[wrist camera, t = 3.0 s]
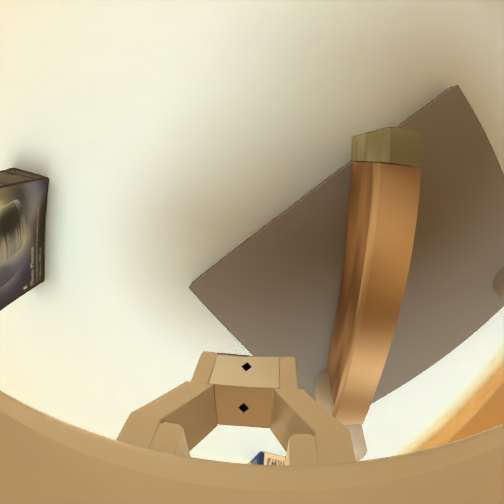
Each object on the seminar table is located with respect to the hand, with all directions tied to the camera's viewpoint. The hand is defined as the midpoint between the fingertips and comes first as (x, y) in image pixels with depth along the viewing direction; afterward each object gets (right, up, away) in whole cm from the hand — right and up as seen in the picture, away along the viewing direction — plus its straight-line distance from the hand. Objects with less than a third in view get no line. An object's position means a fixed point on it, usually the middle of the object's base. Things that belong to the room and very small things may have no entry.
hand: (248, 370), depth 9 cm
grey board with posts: (+11, +2, +11) cm, 16 cm away
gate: (+7, +3, +10) cm, 12 cm away
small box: (-22, +7, +13) cm, 26 cm away
